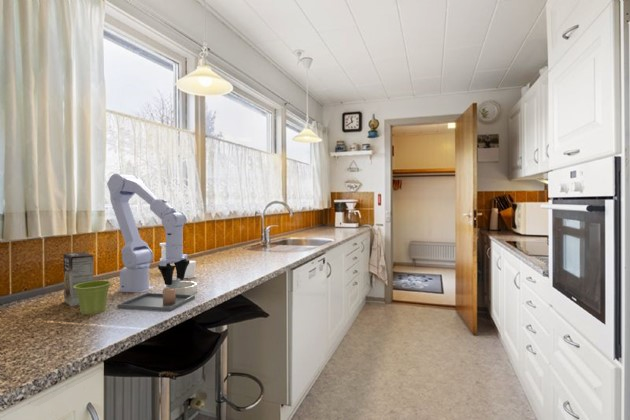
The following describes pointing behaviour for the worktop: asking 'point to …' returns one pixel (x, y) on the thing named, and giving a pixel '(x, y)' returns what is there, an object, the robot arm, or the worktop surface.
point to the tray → (155, 302)
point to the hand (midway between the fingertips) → (174, 282)
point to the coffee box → (76, 274)
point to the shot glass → (190, 270)
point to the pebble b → (169, 296)
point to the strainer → (163, 251)
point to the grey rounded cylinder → (175, 283)
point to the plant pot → (92, 296)
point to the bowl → (185, 287)
